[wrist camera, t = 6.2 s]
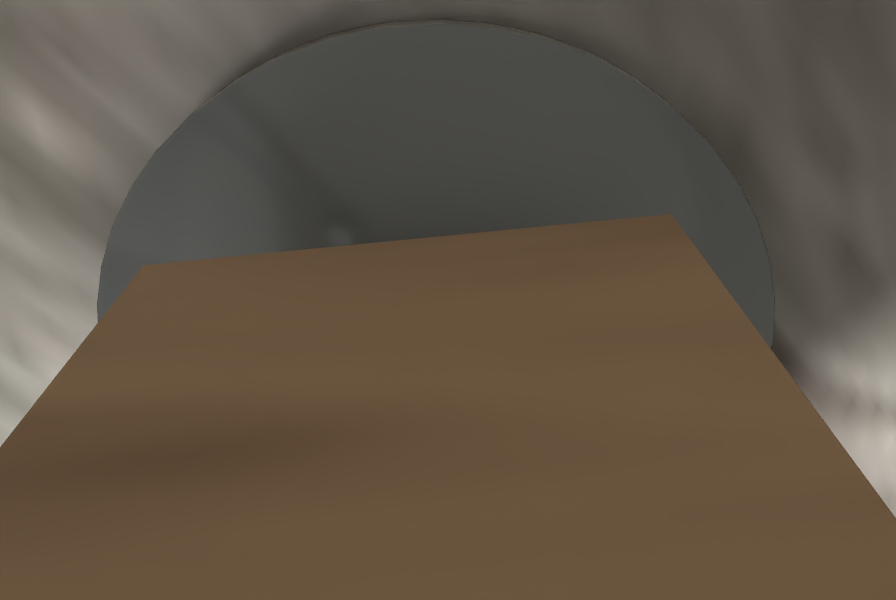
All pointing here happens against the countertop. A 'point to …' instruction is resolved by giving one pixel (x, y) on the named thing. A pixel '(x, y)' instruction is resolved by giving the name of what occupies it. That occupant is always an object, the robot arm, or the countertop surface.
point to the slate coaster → (431, 156)
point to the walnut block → (437, 435)
